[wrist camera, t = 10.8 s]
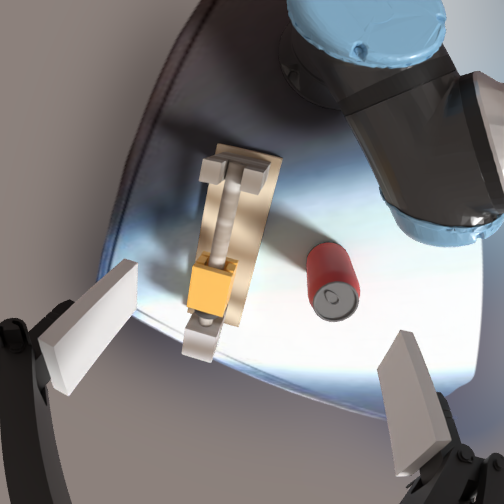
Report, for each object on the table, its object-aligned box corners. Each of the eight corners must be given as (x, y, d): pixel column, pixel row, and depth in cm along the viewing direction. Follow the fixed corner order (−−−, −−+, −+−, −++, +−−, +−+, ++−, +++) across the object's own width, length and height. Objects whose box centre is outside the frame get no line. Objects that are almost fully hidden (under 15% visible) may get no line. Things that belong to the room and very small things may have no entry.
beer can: (331, 231, 44) (342, 267, 33) (357, 263, 45) (373, 305, 34) (297, 258, 46) (296, 300, 35) (323, 288, 48) (329, 334, 37)
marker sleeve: (203, 250, 41) (192, 266, 36) (238, 260, 40) (231, 277, 36) (197, 288, 43) (186, 306, 39) (229, 297, 43) (222, 317, 38)
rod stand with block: (219, 143, 41) (192, 149, 30) (282, 158, 41) (278, 168, 30) (190, 307, 53) (165, 351, 42) (239, 321, 52) (225, 369, 41)
